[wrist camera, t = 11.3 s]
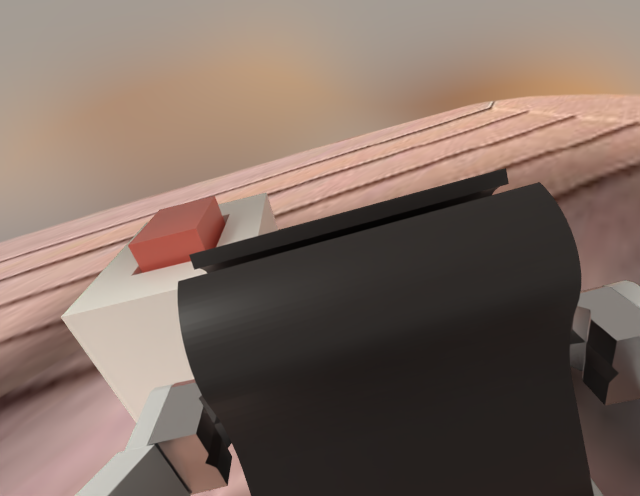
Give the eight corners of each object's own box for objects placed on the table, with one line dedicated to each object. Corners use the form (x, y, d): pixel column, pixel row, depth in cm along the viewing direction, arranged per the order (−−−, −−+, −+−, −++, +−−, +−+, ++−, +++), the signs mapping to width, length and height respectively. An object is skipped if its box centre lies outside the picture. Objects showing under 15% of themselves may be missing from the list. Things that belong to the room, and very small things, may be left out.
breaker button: (153, 293, 20) (127, 245, 19) (179, 250, 24) (159, 209, 23) (217, 277, 20) (195, 228, 18) (231, 238, 24) (214, 195, 23)
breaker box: (140, 429, 20) (60, 317, 17) (189, 309, 30) (146, 222, 26) (297, 393, 20) (250, 271, 16) (295, 284, 30) (266, 192, 26)
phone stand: (644, 776, 8) (985, 367, 2) (367, 853, 8) (21, 632, 2) (452, 414, 16) (424, 133, 10) (317, 450, 16) (216, 189, 10)
